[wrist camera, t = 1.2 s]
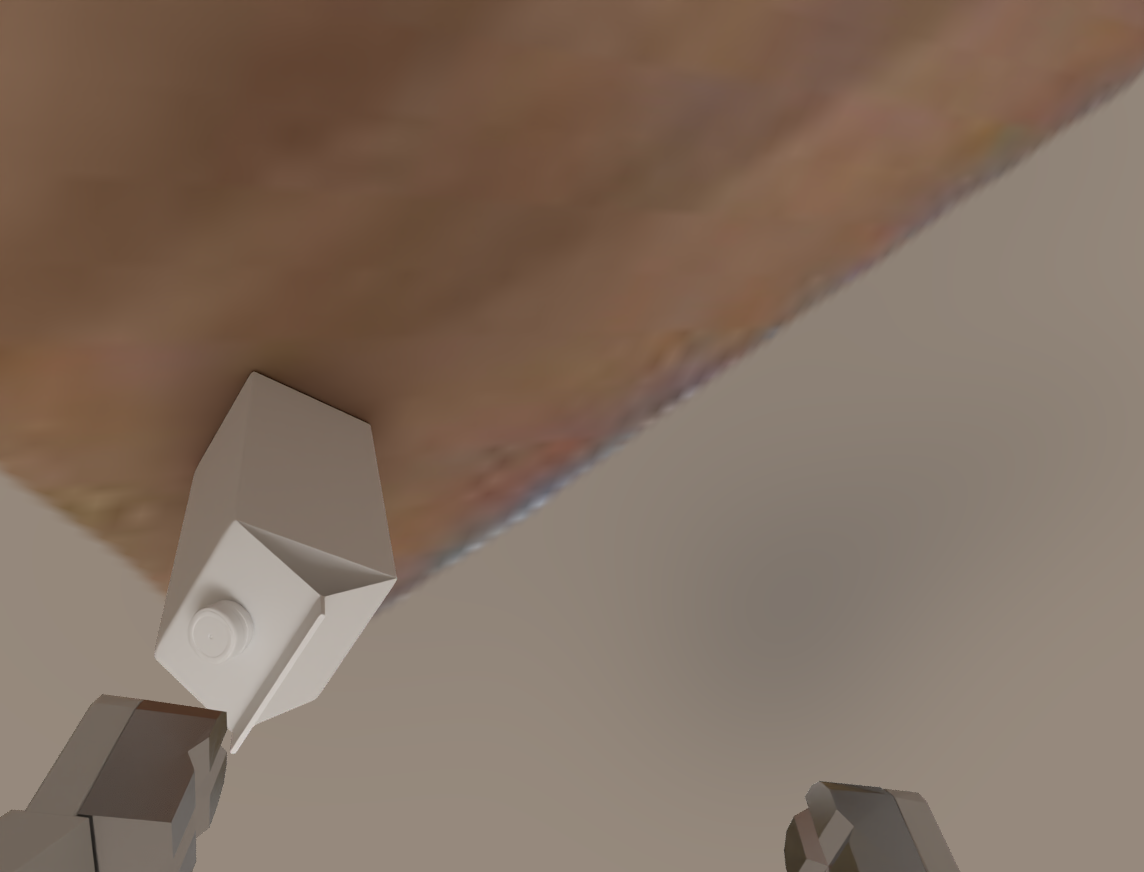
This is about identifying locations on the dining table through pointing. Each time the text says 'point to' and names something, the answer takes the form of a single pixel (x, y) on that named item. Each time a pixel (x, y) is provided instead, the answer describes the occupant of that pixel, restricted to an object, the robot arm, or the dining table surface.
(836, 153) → the dining table surface
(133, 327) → the dining table surface
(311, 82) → the dining table surface
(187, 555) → the milk carton
